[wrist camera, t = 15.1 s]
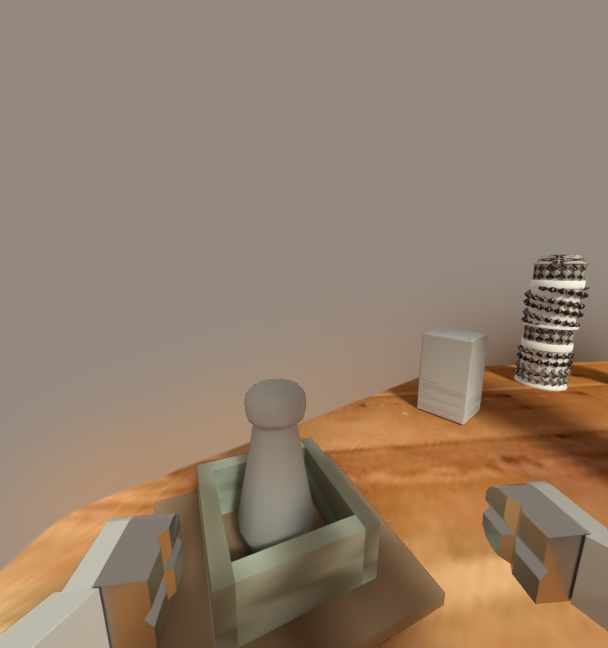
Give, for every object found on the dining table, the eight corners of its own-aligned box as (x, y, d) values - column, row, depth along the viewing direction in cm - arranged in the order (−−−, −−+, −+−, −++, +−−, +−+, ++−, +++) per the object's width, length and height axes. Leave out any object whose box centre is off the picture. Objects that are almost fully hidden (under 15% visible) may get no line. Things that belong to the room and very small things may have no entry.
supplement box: (481, 410, 47) (491, 333, 44) (462, 426, 42) (473, 341, 40) (435, 395, 52) (442, 326, 50) (414, 408, 47) (421, 332, 45)
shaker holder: (328, 461, 34) (330, 418, 33) (443, 604, 20) (452, 535, 19) (156, 511, 27) (151, 457, 26) (137, 794, 12) (124, 699, 11)
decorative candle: (583, 391, 55) (611, 254, 50) (539, 393, 54) (563, 253, 49) (540, 373, 64) (560, 256, 59) (501, 375, 63) (518, 255, 58)
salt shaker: (235, 520, 25) (230, 374, 22) (300, 503, 27) (301, 367, 24) (244, 591, 19) (238, 409, 17) (324, 564, 21) (329, 396, 19)
